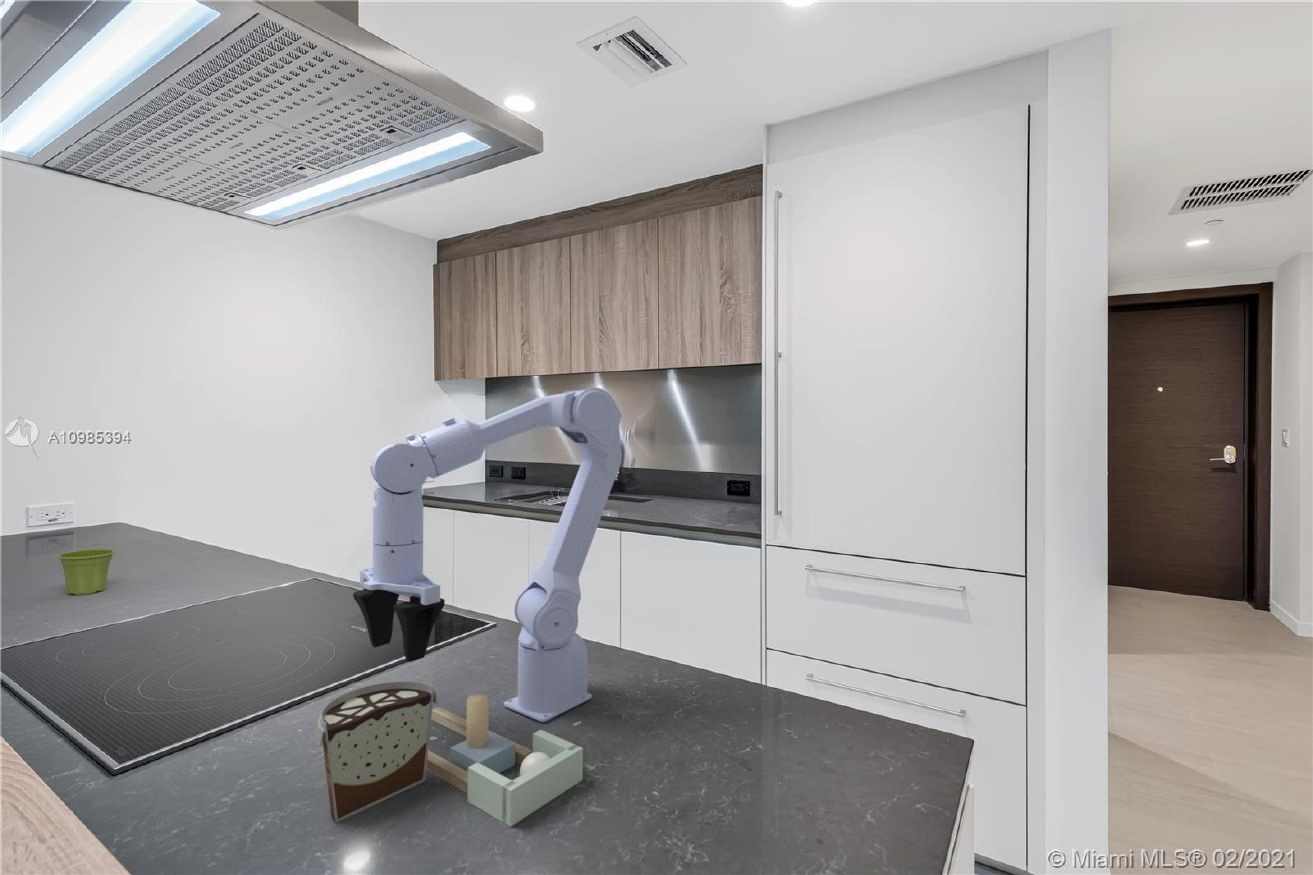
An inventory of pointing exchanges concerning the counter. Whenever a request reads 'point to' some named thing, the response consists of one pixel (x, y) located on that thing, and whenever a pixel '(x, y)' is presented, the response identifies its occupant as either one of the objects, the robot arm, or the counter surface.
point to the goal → (527, 781)
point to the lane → (448, 769)
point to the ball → (533, 761)
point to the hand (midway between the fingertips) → (397, 651)
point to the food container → (375, 743)
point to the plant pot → (86, 570)
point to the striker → (482, 740)
